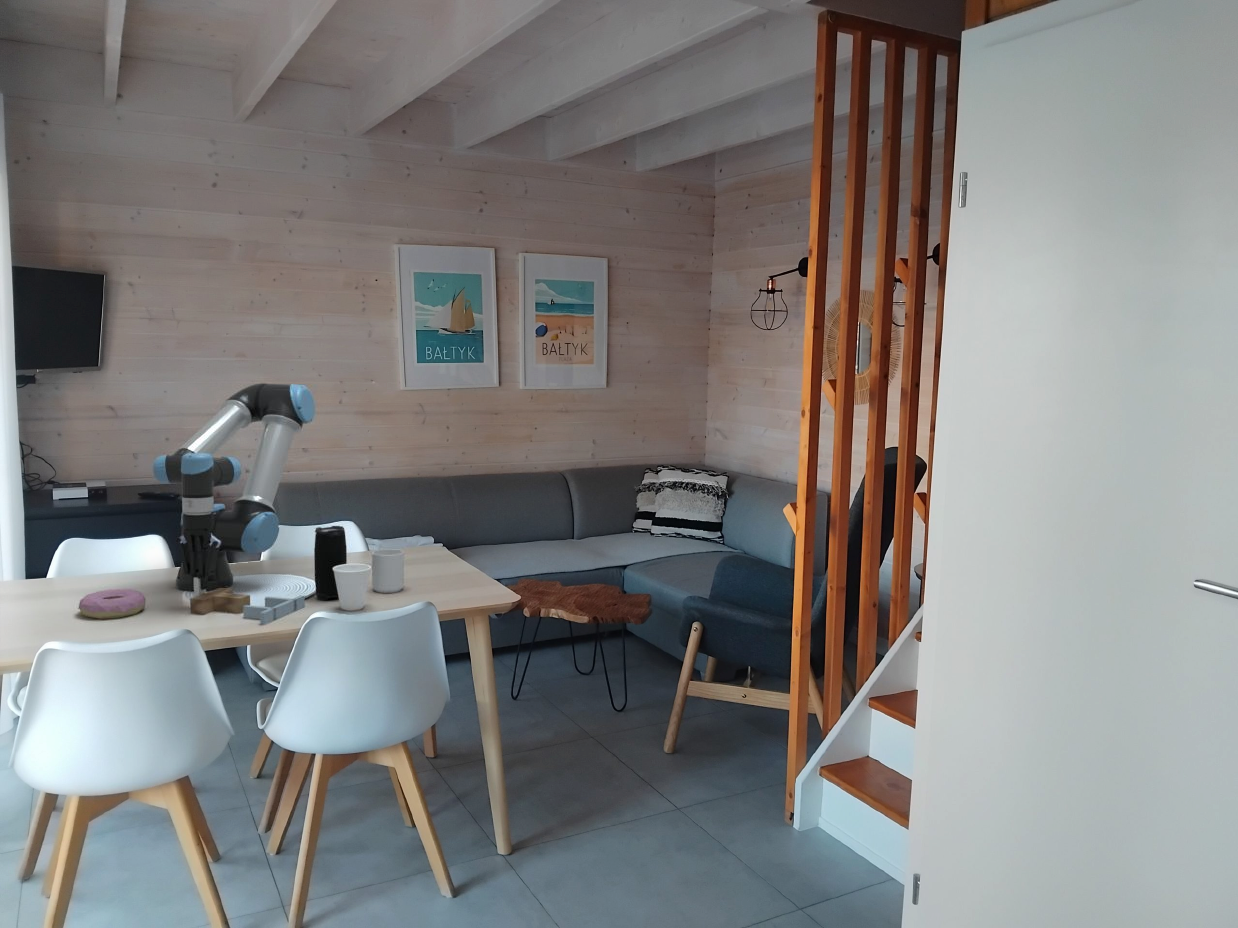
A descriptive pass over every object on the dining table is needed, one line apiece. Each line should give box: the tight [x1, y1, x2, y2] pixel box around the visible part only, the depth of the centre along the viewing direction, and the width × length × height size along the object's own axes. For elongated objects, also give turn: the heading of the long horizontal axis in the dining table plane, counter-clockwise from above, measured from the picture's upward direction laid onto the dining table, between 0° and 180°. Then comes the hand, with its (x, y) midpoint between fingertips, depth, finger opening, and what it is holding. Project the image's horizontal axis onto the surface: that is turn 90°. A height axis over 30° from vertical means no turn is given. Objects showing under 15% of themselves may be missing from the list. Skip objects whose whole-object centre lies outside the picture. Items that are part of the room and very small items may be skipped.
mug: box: [371, 548, 405, 594], centre depth 276 cm, size 12×9×11 cm
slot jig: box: [242, 595, 306, 626], centre depth 248 cm, size 9×18×3 cm, turn 166°
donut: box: [77, 588, 147, 620], centre depth 246 cm, size 16×15×5 cm
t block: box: [189, 587, 251, 616], centre depth 251 cm, size 12×12×4 cm
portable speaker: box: [313, 525, 348, 602], centre depth 265 cm, size 9×9×20 cm
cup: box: [333, 563, 372, 612], centre depth 255 cm, size 10×10×11 cm
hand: (200, 600), depth 252 cm, fingers closed
